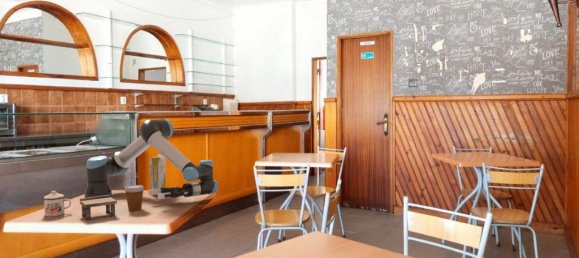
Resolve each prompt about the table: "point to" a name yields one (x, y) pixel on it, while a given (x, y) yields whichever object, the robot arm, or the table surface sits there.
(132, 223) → the table surface
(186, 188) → the robot arm
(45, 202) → the teacup with lid
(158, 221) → the table surface
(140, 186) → the disposable coffee cup
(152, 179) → the juice carton
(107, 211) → the peg shelf
